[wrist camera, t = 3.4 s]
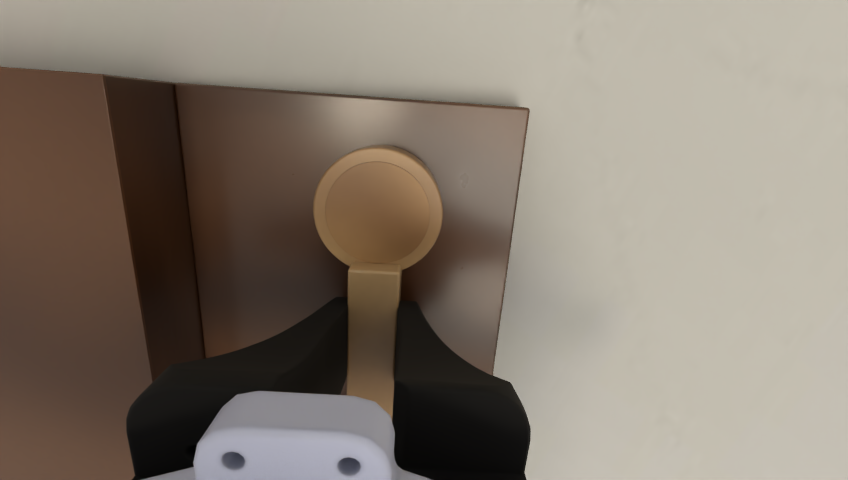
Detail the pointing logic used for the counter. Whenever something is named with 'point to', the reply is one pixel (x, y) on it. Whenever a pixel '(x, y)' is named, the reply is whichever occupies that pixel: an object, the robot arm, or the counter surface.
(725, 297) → the counter surface
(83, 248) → the step shelf
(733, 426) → the counter surface
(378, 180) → the spoon
